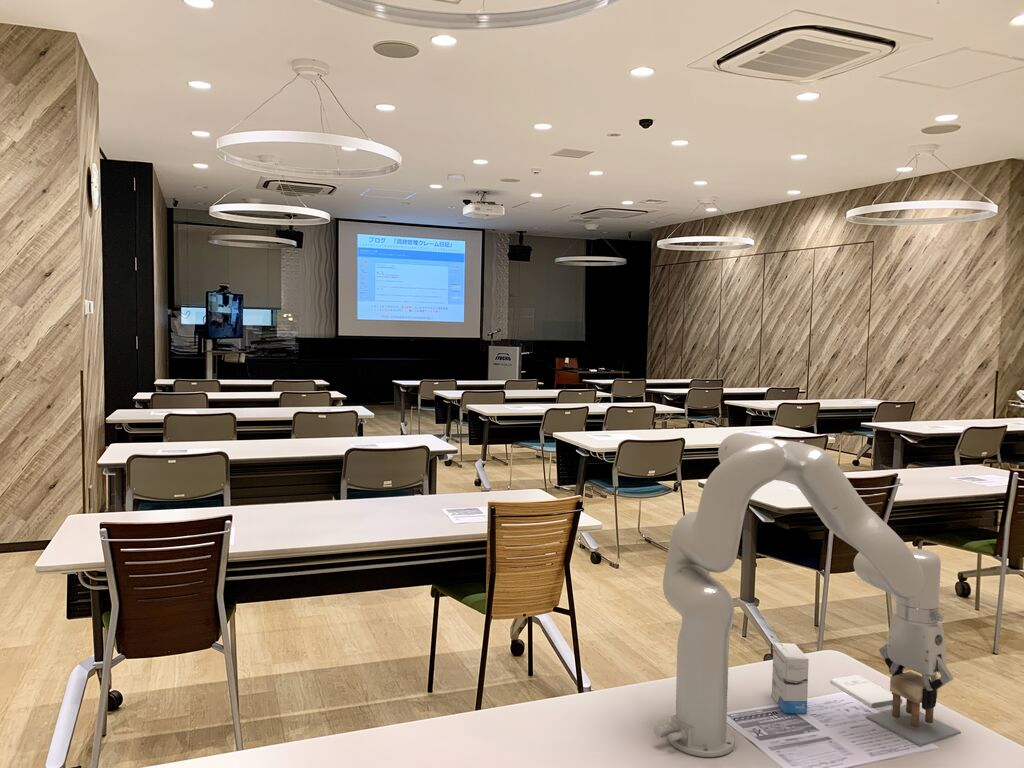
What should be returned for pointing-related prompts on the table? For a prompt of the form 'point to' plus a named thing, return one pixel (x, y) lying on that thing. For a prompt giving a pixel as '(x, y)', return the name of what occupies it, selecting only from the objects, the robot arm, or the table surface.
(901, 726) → the mat
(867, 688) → the external hard drive
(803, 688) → the ink box
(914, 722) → the stool
